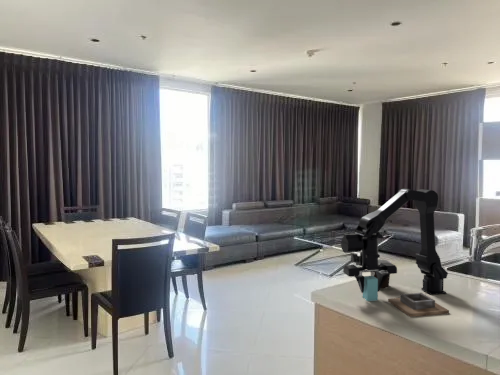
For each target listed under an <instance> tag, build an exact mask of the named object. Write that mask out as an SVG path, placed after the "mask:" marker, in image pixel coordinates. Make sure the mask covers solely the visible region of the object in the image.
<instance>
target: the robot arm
mask: <svg viewBox="0 0 500 375" xmlns="http://www.w3.org/2000/svg"><path fill="white" fill-rule="evenodd" d="M409 201H414V205H415V207H416V209H417V210H418V212H419V213H418V214H419V225H420V226H419V229H420V247H421V248H420V251H419V253H415V264H416V265H417V268H418V269H419V271H420V274H422V275H423V279H422V287H421V288H420V290H422V291H424V292H426V293H428V294H429V295H441V294H442V295H443V294H447V291H446V290H444V279H447V278H448V274H449V272H448V271H447V270H446V269H445V268H444V267H443V266H442V261H441V257H440V256H439V254H438V252H437V250H436V249H437V248H436V234H435V233H436V231H435V212H436V211H437V210H436V209H437V208H438V206H439V194H438V192H436V191H435V190H432V189H422V188H421V189H417V190H415V189H413V190H412V189H410V188H401V189H399V190H398V191H397V193H396V194H395V195H394V196H392V197H391V198H390V199H388V201H386V202H385V203H384V204H383V205H382V206H380V207H379V208H377V209H376V210H375V211H372V212H370V213H369V212H368V214H366V215H365V214H364V216H362V217H360V219H359V222H358V225H357V226H356V228H355V229H354V231H353V233H343V237H342V239H341V241H340V246H341V247H340V248H341V250H342V252H343V253H345V254H347V253H351V254H350V261H351V264H347V265H346V264H345V265H344V266H343V270H342V271H343V273H344V274H345V275H346V276H347V277H351V278H352V277H353V278H355V280H356V282H357V285H358V288H359V290H360V292H361V293H362V294H363V292H364V275H363V273H370V272H374V271H376V275H377V279H378V293H379V292H380V290H381V289H382V288H381V287H382V285H383V283H384V281H385V280H386V278H387V277H388V276H390V277H391V274H392V275H394V274H398V267H397V265H395V264H394V263H392V262H391V263H389V262H387V263H381V264H380V266H379V265H378V259H380V258H381V256H380V254H379V239H384V235H382V234H381V233H380V231H381V230H382V228H383V227H384V226H385V223H386V221H387V220H388V219H389V218H390V217H392V215H394V214H395V213H396V212H398V210H399V209H401V208H402V207H403V206H405V204H407V203H408V202H409ZM357 253H359V255H358V254H357ZM354 263H355V265H354ZM358 266H359V267H358ZM388 273H389V274H388Z"/></svg>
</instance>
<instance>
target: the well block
mask: <svg viewBox="0 0 500 375" xmlns="http://www.w3.org/2000/svg"><path fill="white" fill-rule="evenodd" d="M399 296H400V297H394V298H387V302H388V303H389V304H391V306H394V307H395V308H397V309H398V310H399V311H401V312H402V313H404V314H405V315H406V316H408V317H410V318H411V317H413V318H414V317H421V316H422V317H424V316H434V315H435V316H436V315H445V314H447V315H449V314H450V310H449V309H447V308H445V307H444V306H443V305H441V304H439V303H437V302H436V300H435V299H433V298H432V297H430V296H428V295H426V294H424V293H423V292H413V293H412V292H411V293H400V295H399Z"/></svg>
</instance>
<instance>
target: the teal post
mask: <svg viewBox="0 0 500 375" xmlns="http://www.w3.org/2000/svg"><path fill="white" fill-rule="evenodd" d="M363 276H364V275H363ZM378 297H379V292H378V279H377V278H375V277H374V276H371V275H365V276H364V292H363V293H362V298H363V299H364V298H365V299H366V300H365V299H364V300H365V301H366V302H372V301H374V302H375V301H378V300H379V298H378Z"/></svg>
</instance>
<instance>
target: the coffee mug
mask: <svg viewBox="0 0 500 375" xmlns="http://www.w3.org/2000/svg"><path fill="white" fill-rule="evenodd" d="M387 262H389V263H391V264H392V261H391V260H387V259H382V258H381V259H380V258H378V265H379V266H380V264H381V263H387ZM369 273H370V276H374V277H375V278H377V275H376V271H374V272H369ZM388 274H389V273H388ZM390 278H391V275H390V276H388V277H387V278H386V280H385V281H384V283H383V285H382V287H381V289H388V288H389V287H390V286H389V285H390Z"/></svg>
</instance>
